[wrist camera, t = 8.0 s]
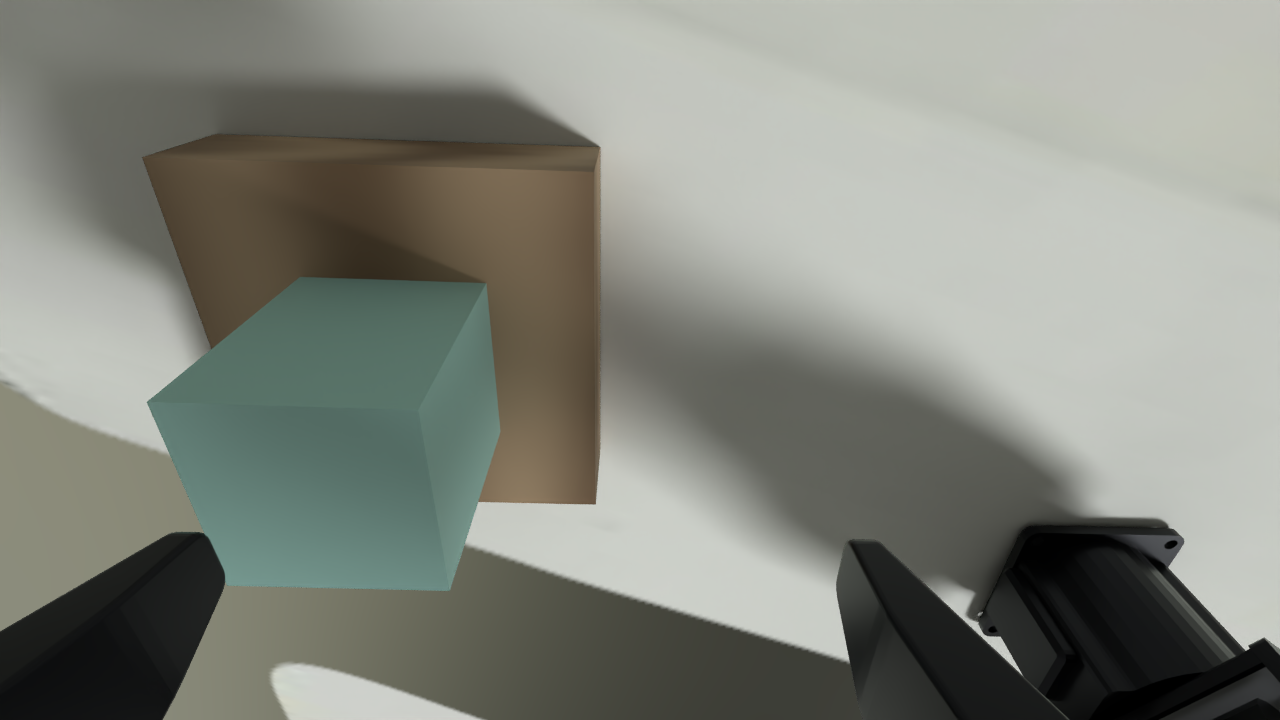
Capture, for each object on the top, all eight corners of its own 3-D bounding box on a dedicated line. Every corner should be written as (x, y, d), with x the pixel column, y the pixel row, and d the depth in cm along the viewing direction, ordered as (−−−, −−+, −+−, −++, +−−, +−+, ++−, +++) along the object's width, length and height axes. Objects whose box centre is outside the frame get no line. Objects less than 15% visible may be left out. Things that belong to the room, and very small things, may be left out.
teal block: (486, 282, 17) (418, 409, 12) (500, 431, 19) (449, 591, 14) (299, 277, 17) (147, 402, 11) (338, 427, 19) (227, 585, 14)
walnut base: (600, 146, 18) (593, 171, 15) (600, 448, 23) (595, 504, 21) (215, 134, 18) (142, 157, 15) (306, 441, 23) (265, 496, 21)
